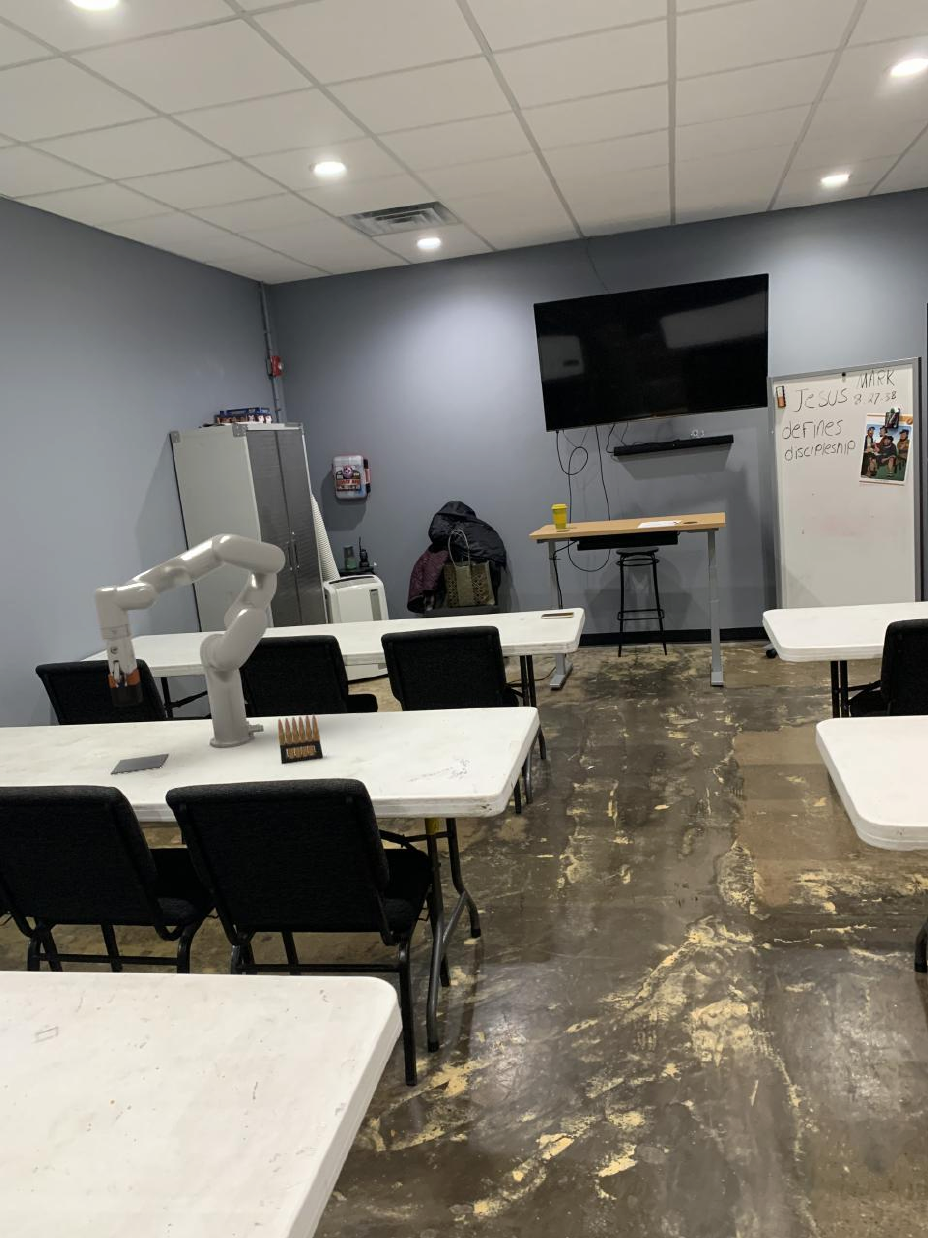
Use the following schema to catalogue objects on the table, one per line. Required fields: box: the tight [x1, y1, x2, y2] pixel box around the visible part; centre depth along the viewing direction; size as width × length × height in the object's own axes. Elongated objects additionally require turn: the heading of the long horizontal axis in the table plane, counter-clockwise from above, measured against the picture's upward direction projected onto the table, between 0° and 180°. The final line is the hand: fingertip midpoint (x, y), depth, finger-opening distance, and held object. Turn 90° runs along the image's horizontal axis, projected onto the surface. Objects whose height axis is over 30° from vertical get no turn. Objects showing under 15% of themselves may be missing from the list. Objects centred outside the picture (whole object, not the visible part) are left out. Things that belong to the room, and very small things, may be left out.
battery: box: [108, 668, 144, 708], centre depth 233 cm, size 4×7×10 cm, turn 93°
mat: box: [110, 752, 170, 776], centre depth 236 cm, size 13×11×1 cm
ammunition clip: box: [277, 713, 324, 765], centre depth 226 cm, size 11×2×12 cm, turn 98°
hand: (127, 697), depth 233 cm, fingers closed on battery, 4 cm apart
